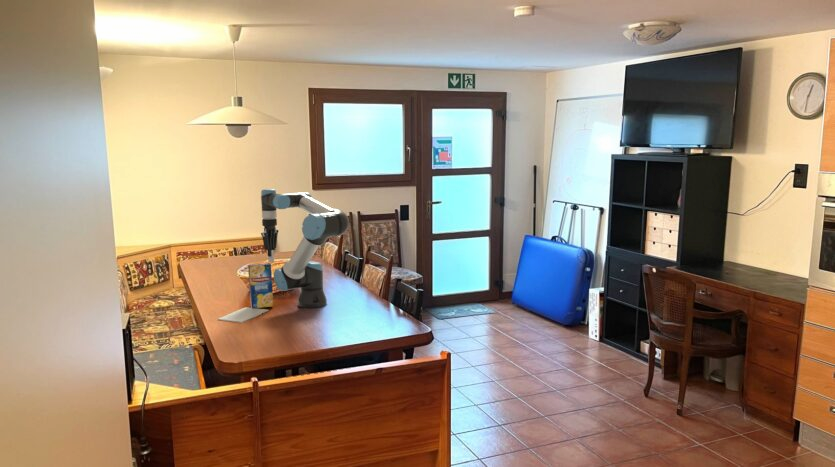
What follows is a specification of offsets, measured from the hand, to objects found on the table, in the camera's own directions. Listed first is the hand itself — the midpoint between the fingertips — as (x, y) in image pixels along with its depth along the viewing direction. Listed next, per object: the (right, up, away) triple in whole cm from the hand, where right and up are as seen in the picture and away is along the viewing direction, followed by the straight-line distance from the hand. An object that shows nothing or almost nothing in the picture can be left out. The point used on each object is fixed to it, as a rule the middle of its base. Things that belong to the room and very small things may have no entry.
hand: (271, 262), depth 314 cm
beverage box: (-3, -23, -6) cm, 24 cm away
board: (-9, -26, -21) cm, 34 cm away
